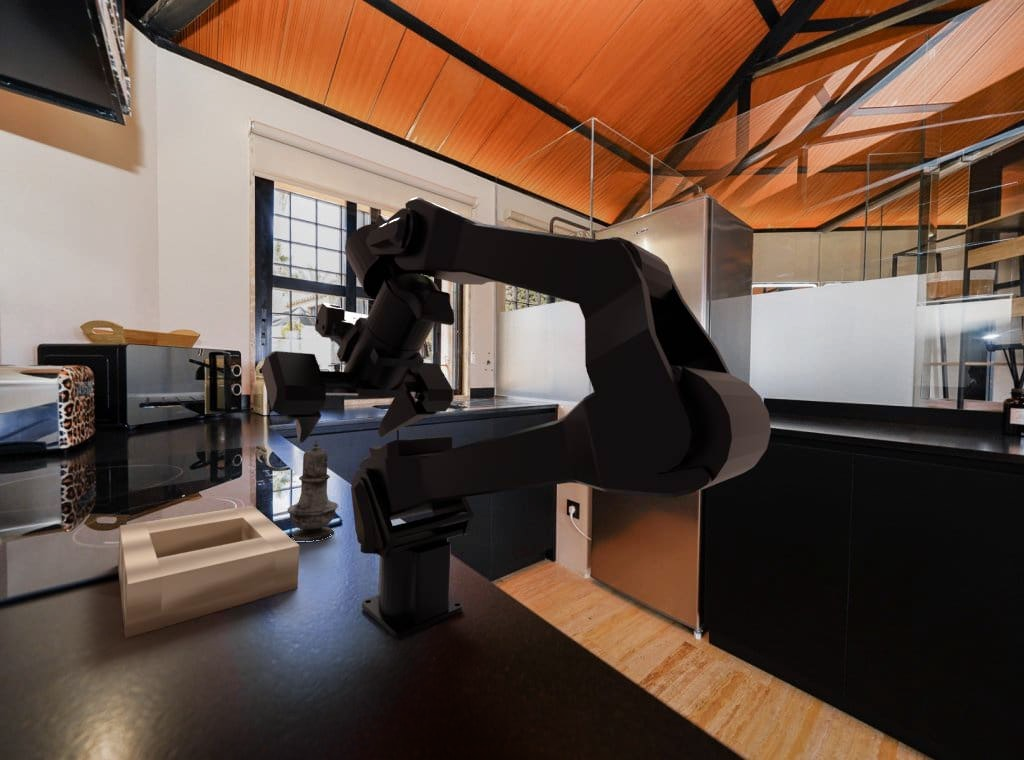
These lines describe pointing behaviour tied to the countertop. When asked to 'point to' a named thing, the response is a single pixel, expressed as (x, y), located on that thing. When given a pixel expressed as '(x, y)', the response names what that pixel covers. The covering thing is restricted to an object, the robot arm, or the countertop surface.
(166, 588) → the socket board
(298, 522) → the salt shaker
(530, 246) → the robot arm
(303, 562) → the countertop surface
